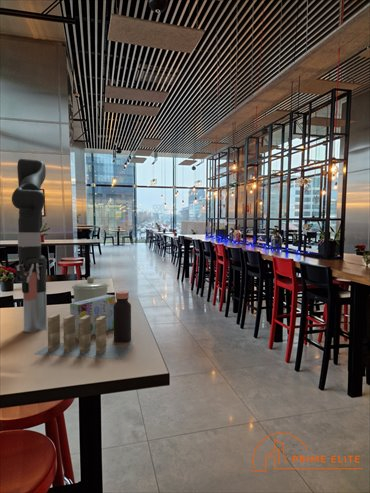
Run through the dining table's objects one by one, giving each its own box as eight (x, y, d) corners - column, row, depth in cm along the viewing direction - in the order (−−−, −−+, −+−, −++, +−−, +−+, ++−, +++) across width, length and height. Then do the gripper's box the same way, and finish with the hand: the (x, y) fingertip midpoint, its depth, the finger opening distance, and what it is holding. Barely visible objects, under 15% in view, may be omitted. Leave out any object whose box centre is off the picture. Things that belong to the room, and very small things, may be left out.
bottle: (123, 346, 119) (122, 294, 118) (110, 343, 123) (109, 292, 122) (134, 341, 125) (134, 291, 124) (121, 338, 128) (121, 290, 128)
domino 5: (95, 353, 109) (95, 319, 109) (101, 348, 114) (101, 316, 114) (100, 353, 109) (100, 319, 109) (106, 348, 114) (106, 316, 114)
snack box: (107, 326, 146) (107, 294, 145) (116, 328, 143) (116, 295, 142) (70, 339, 127) (69, 302, 127) (79, 341, 125) (79, 304, 124)
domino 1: (24, 300, 112) (23, 267, 112) (32, 297, 117) (32, 265, 117) (28, 300, 112) (28, 267, 112) (37, 297, 117) (36, 265, 117)
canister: (113, 313, 169) (113, 274, 168) (101, 323, 151) (100, 279, 150) (81, 312, 170) (81, 274, 170) (65, 321, 152) (64, 278, 152)
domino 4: (79, 352, 110) (79, 319, 110) (86, 347, 115) (85, 315, 115) (84, 352, 110) (84, 319, 110) (90, 347, 115) (90, 315, 115)
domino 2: (48, 350, 112) (47, 317, 111) (55, 345, 117) (55, 314, 116) (52, 351, 112) (52, 317, 111) (60, 346, 117) (59, 314, 116)
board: (34, 356, 109) (34, 354, 109) (53, 344, 121) (53, 342, 121) (122, 362, 105) (122, 359, 105) (133, 349, 116) (133, 346, 116)
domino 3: (63, 351, 111) (63, 318, 111) (70, 346, 116) (70, 314, 116) (68, 352, 111) (68, 318, 110) (75, 347, 116) (74, 314, 115)
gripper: (32, 244, 121) (33, 287, 122) (6, 245, 107) (7, 295, 108) (50, 244, 120) (51, 288, 121) (26, 246, 106) (27, 295, 107)
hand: (30, 291), depth 115 cm, fingers closed on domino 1, 5 cm apart
